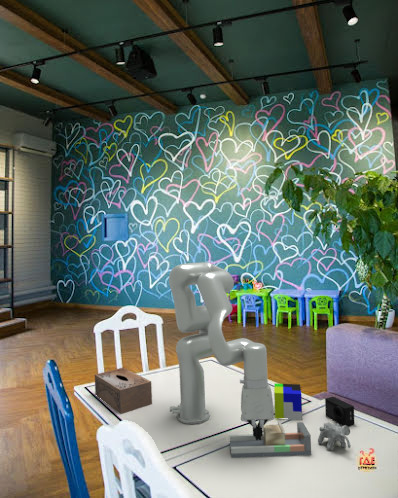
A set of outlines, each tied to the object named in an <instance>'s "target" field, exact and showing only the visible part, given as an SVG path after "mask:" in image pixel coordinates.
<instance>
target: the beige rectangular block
mask: <svg viewBox="0 0 398 498" xmlns="http://www.w3.org/2000/svg"><path fill="white" fill-rule="evenodd" d="M286 433H287V432H286V431H285V429H284V426H283V424H282V422H281V420H277V424H265V425H264V427H263V440H264V443H265V446H270V445H285V435H286Z"/></svg>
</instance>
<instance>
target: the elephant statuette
mask: <svg viewBox="0 0 398 498" xmlns="http://www.w3.org/2000/svg"><path fill="white" fill-rule="evenodd" d="M350 434H351V428H350V426H349V427H348V426H346V425H345V426H342V425H340V424H338V423H337V422H336V423H331V422H326V423H323V426H320V427H319V435H318V439H317V442H318V445H322V444H323V442H324V439H325V438H326V439H327V445H326V450H328V451H333V450H334V445H335V442H338V443H339V444H340V446H341V448H345V447H346V446H347V448H349V449H350V448H351V443H350V440H349V437H348V436H349V435H350Z"/></svg>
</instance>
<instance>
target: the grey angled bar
mask: <svg viewBox="0 0 398 498" xmlns="http://www.w3.org/2000/svg"><path fill="white" fill-rule="evenodd" d="M296 424H297V425H296V427H297V428H296V429H297V431H296V433H298V439H299V441H300V443H301V444H304V448H305V451H311V452H312V441H311V439H312V437H311V436H312V435H311V433H310V432H309V430H308V429H307V426H306V425H305V423H304V422H303V421H300V422H296Z"/></svg>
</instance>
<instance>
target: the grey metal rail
mask: <svg viewBox="0 0 398 498" xmlns="http://www.w3.org/2000/svg"><path fill="white" fill-rule="evenodd" d="M285 433H286V435H285V445H270V446H265V443H264V440H263V436H261V440H259V439H258V440H256V438H255V436H253V433H251V434H249V433H246V434H229V436H228V438H229V439H228V440H229V442H230V443H229V449H230V455H231V458H232V459H233V458H235V459H237V458H259V457H260V458H261V457H294V456H311V455H312V450H311V451H305V448H304V444H301V443H300V441H299V439H298V433H297V432H285Z"/></svg>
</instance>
